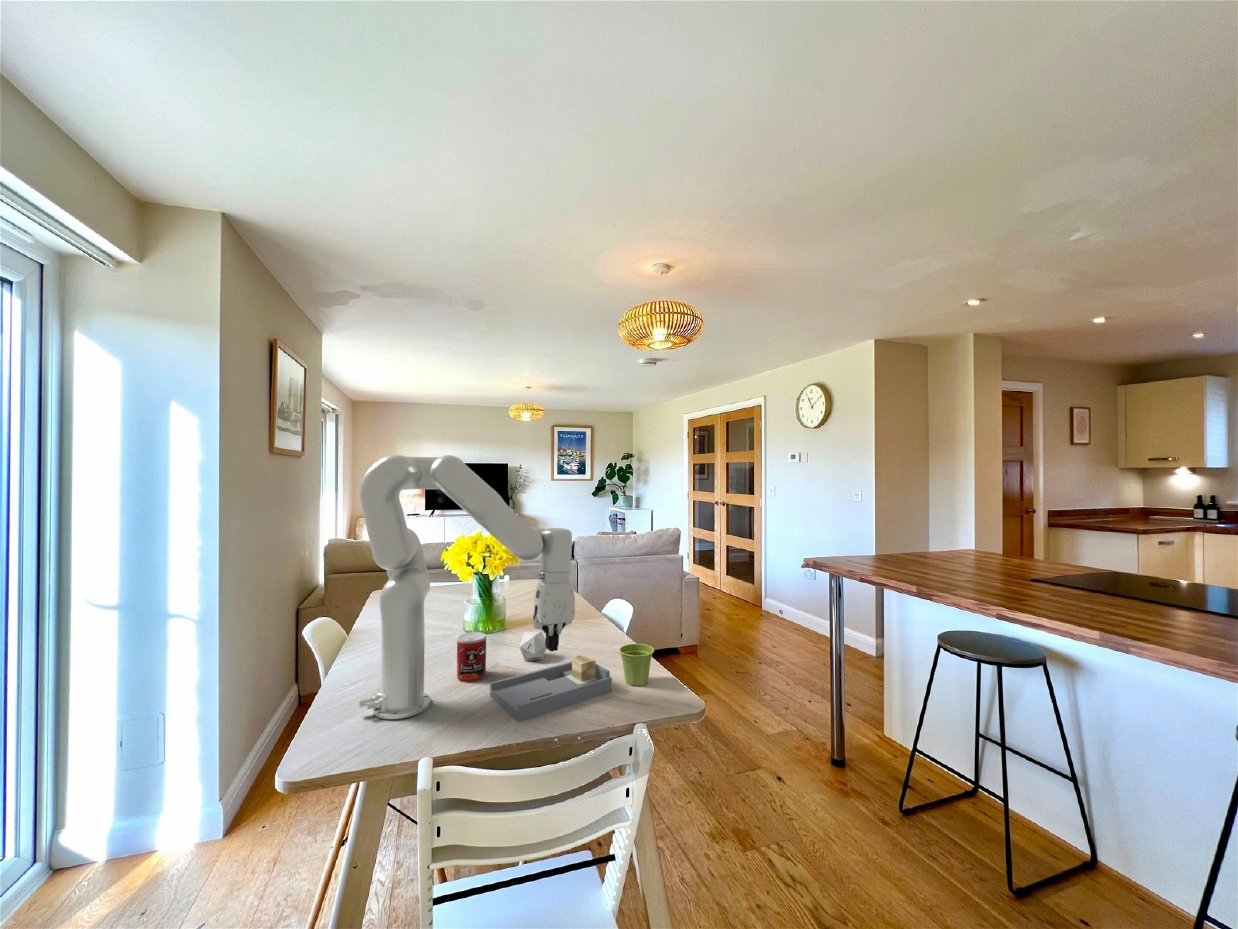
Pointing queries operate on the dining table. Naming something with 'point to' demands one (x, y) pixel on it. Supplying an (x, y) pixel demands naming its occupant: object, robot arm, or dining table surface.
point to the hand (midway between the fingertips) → (551, 649)
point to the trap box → (547, 690)
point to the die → (533, 646)
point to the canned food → (471, 656)
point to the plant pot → (636, 663)
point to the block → (583, 668)
